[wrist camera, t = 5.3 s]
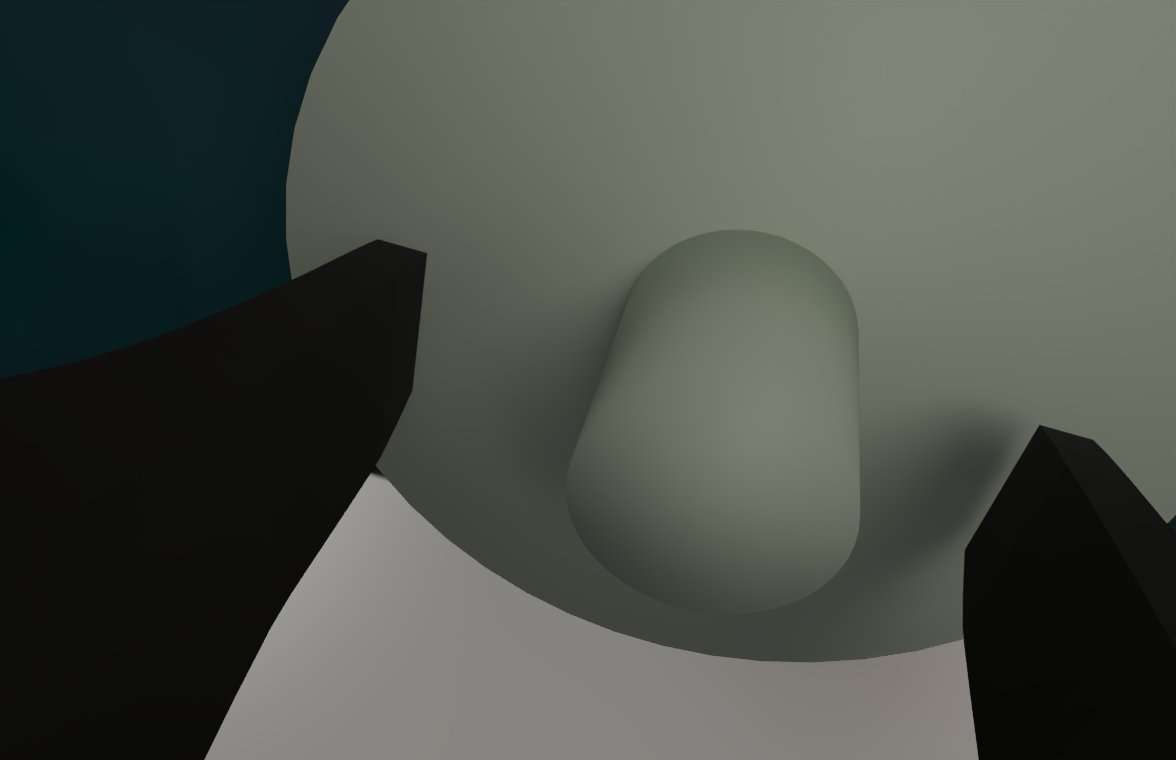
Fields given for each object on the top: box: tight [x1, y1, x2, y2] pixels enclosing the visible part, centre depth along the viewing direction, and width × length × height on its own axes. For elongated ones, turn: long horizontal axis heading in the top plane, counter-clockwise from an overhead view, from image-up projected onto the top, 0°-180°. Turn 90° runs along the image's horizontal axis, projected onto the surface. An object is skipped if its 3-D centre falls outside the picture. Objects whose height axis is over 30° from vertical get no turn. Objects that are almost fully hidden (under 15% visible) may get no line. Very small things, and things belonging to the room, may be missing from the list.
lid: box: [286, 0, 1176, 662], centre depth 11 cm, size 12×12×4 cm
